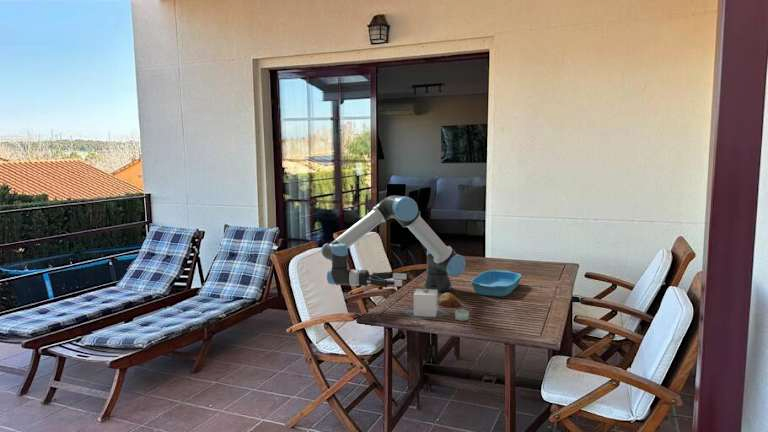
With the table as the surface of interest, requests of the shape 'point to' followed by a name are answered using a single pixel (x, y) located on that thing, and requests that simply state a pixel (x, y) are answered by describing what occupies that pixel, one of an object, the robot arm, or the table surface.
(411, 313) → the rubber mat
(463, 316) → the bowl
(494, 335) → the table surface
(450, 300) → the bread roll
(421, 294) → the box cover
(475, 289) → the casserole dish
